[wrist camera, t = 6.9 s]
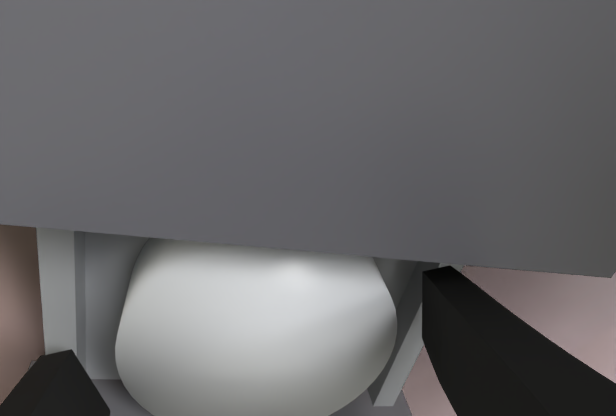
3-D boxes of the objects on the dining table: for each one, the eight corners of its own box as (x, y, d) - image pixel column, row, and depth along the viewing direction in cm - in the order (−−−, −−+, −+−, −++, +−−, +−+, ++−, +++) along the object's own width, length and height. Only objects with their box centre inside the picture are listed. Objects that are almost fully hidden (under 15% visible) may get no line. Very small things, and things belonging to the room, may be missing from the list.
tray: (564, 5, 10) (724, 44, 7) (377, 400, 16) (415, 513, 13) (-17, -156, 7) (-204, -220, 4) (35, 401, 13) (-19, 546, 10)
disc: (378, 344, 12) (401, 402, 11) (173, 393, 12) (167, 460, 10) (364, 163, 9) (392, 210, 8) (89, 220, 9) (62, 280, 7)
